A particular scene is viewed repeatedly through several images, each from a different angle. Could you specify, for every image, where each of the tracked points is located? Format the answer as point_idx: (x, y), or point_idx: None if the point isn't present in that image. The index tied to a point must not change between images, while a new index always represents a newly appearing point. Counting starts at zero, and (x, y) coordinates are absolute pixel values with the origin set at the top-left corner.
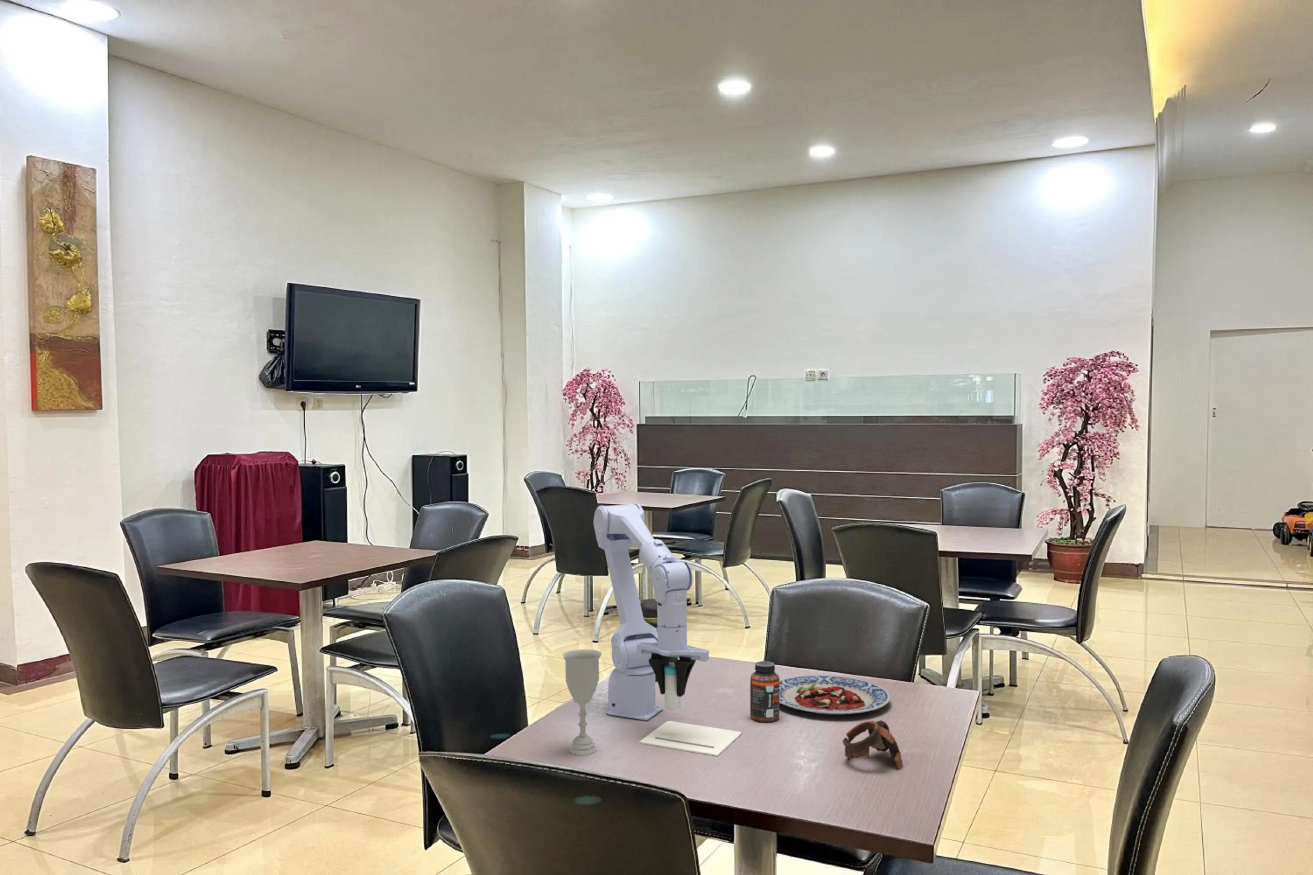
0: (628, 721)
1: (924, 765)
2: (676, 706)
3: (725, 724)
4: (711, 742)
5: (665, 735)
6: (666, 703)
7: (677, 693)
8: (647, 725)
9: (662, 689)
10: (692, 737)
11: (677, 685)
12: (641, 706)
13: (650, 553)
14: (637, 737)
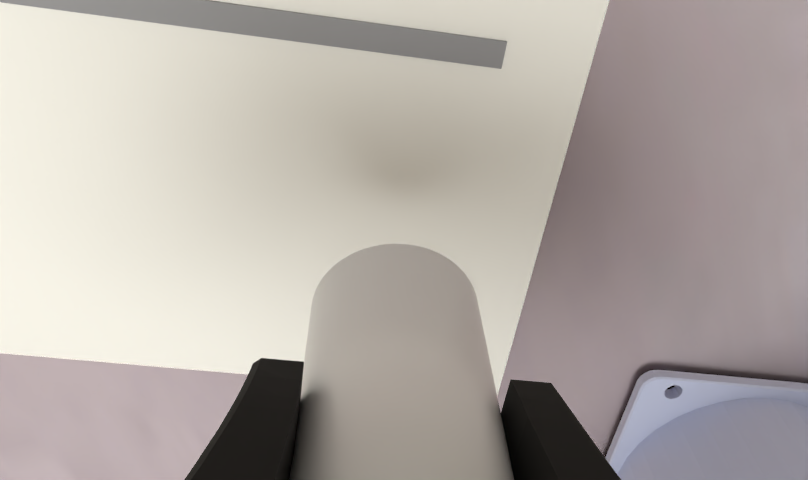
0: (769, 332)
1: None
2: (330, 285)
3: (122, 443)
4: (17, 94)
5: (437, 133)
6: (451, 290)
7: (294, 381)
8: (624, 303)
9: (534, 415)
10: (213, 155)
11: (266, 463)
12: (717, 460)
13: None
14: (663, 54)
